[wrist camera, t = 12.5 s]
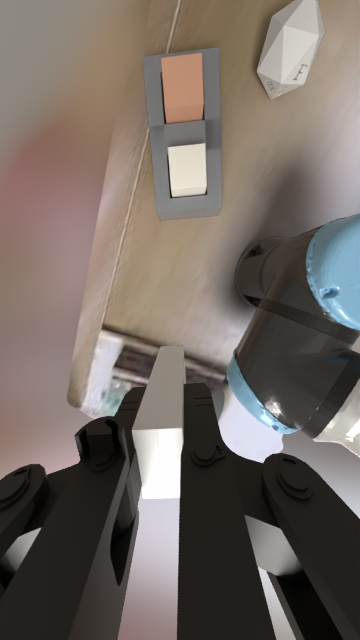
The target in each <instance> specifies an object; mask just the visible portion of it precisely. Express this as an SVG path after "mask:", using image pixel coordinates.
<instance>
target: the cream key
mask: <svg viewBox="0 0 360 640" xmlns="http://www.w3.org/2000/svg"><path fill="white" fill-rule="evenodd" d="M168 155H169V168H170V182H171V192H172V198H181V197H192V196H202V195H205V191H206V187H207V181H206V153H205V143H204V144H194V145H185V146H176V147H168Z"/></svg>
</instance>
